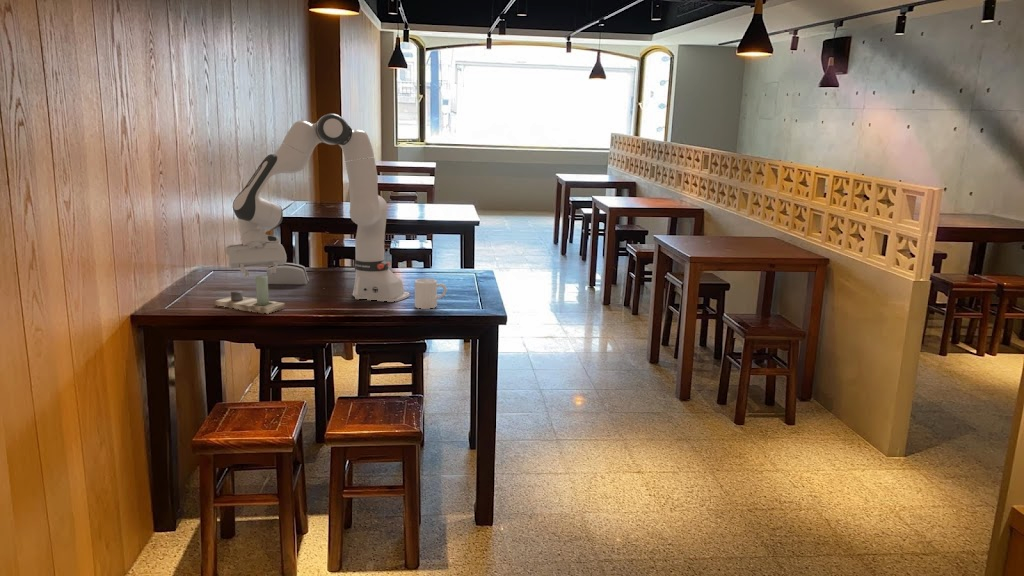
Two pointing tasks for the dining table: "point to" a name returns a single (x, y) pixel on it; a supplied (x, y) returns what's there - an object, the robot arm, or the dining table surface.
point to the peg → (262, 290)
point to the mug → (427, 293)
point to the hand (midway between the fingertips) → (260, 274)
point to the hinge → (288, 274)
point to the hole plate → (248, 303)
